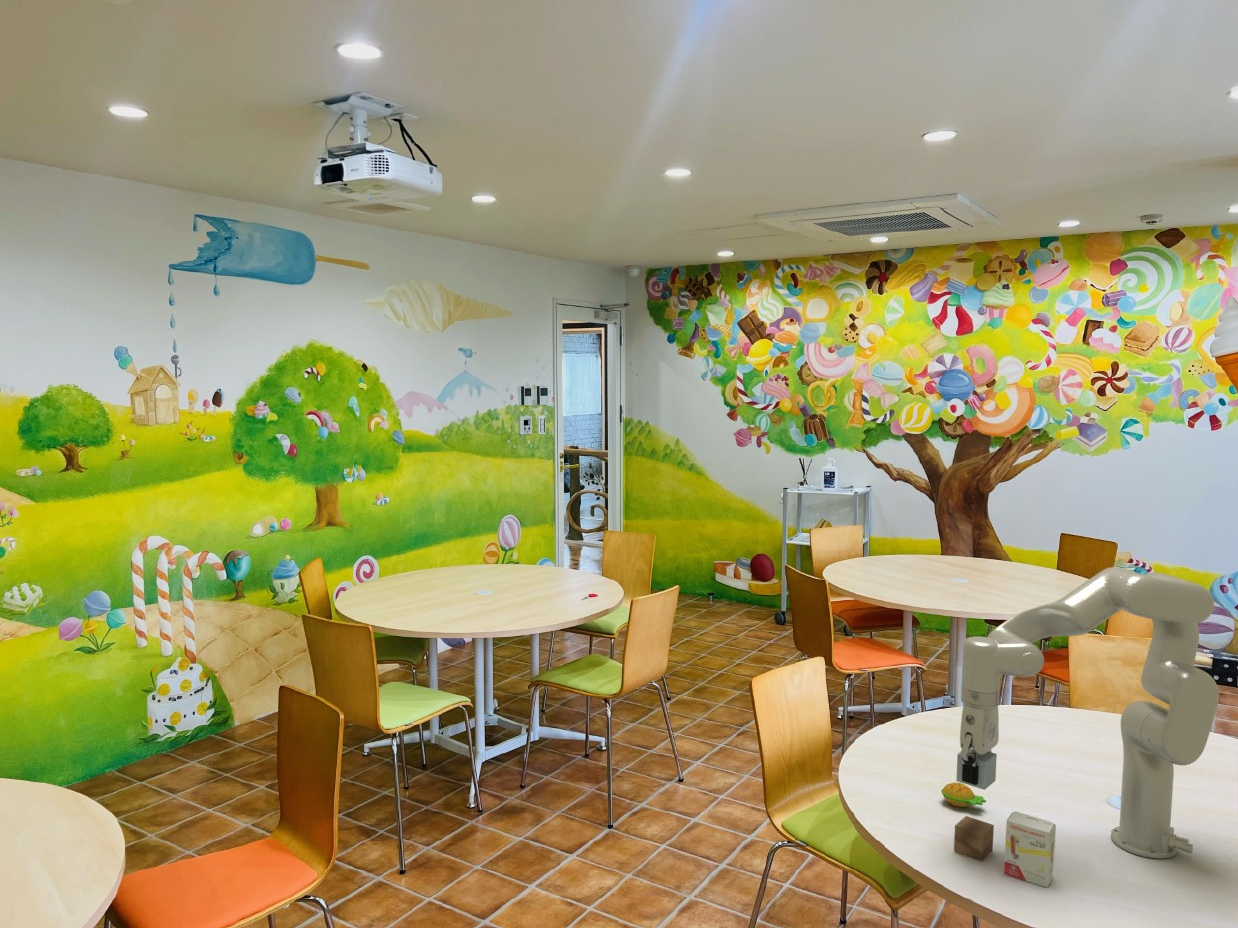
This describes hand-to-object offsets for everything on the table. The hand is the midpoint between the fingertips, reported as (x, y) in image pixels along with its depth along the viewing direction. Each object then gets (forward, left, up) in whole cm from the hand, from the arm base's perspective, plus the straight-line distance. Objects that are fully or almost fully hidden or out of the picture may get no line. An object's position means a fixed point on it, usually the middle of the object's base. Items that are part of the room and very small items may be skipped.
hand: (976, 776), depth 191 cm
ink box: (-12, +2, -17) cm, 21 cm away
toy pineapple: (+10, -19, -17) cm, 27 cm away
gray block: (0, 0, -1) cm, 1 cm away
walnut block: (0, 0, -17) cm, 17 cm away
